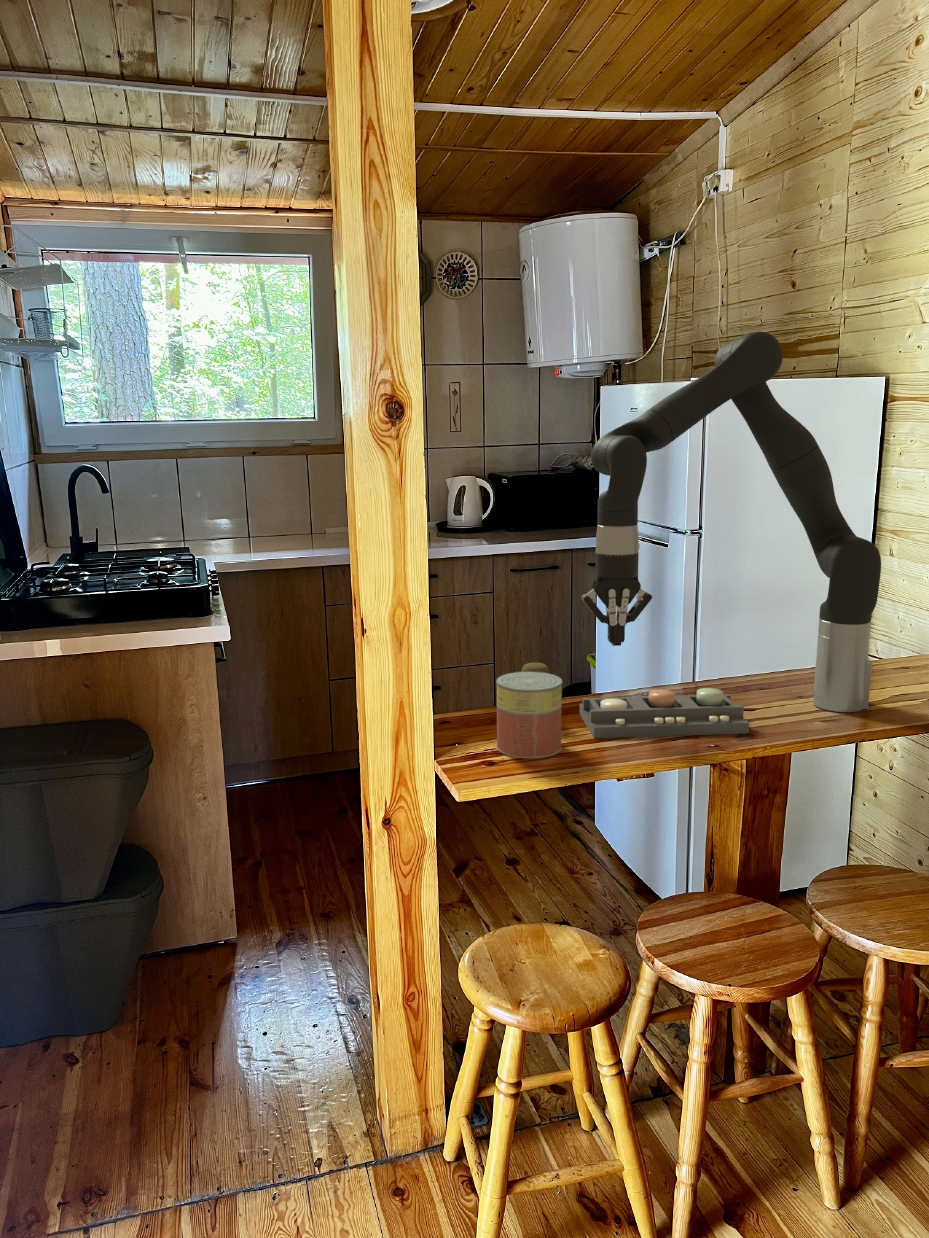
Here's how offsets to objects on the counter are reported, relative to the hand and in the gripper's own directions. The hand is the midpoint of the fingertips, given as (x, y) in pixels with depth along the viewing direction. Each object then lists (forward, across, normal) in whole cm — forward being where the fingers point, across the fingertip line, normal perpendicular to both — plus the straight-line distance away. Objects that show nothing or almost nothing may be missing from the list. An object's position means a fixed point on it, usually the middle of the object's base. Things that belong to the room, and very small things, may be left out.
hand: (615, 644), depth 168 cm
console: (+15, -9, 0) cm, 18 cm away
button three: (+12, -9, 0) cm, 15 cm away
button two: (+12, -18, 0) cm, 21 cm away
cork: (+15, +14, -4) cm, 21 cm away
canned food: (+15, +17, +10) cm, 25 cm away
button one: (+13, 0, 0) cm, 13 cm away
